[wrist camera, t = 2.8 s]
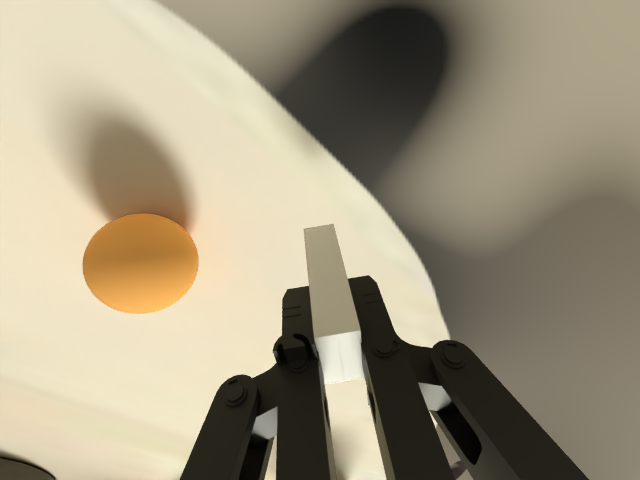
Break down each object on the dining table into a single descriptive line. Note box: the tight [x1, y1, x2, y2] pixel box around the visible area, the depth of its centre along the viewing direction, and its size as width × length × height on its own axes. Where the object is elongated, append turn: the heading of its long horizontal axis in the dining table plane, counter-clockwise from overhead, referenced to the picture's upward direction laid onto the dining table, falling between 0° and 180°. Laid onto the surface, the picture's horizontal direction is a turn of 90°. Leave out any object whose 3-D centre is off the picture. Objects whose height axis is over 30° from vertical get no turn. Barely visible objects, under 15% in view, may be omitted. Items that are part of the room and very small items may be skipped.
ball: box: [83, 213, 198, 314], centre depth 17 cm, size 6×6×6 cm
